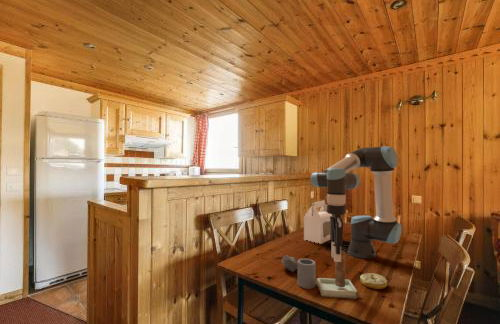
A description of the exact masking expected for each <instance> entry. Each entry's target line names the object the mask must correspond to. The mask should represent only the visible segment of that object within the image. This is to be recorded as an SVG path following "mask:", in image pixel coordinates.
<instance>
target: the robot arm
mask: <svg viewBox="0 0 500 324" xmlns="http://www.w3.org/2000/svg"><path fill="white" fill-rule="evenodd" d="M394 148H395V147H392V146H389V145H388V146H384V145H382V146H371V147H370V146H369V147H361V148H357V149H355V150H353V151H351V152H349V153H347V154H346V155H345V156H344V158H342V159H340V160H339V161H338V162H336V163H334V164H332V165H331V166H329V167H328V168H326V169H324V170H322V171H315V172H312V173H311V175H310V184H311V186H312V187H314V188H318V189H319V188H324V189H326V196H325V199H326V202H327V203H326V204H327V213H329V214H332V216H330V238H331V239H330V241H331V258H332V259H333V262H334V263H335V262H341V250H342V247H343V245H344V244H343V243H344V242H343V241H344V235H343V234H344V230H343V229H344V221H343V218H342V215H346V208H347V207H346V204H347V203H346V201H347V200H346V199H347V198H346V197H347V196H346V195H347V194H346V190H353V189H356V188H358V187H359V186H360V182H361V179H360V177H359V175H358V174H357V173H355V172H352V170H356V169H358V168H359V169H360V168H370V169H369V170H370V173H372V174H373V185H374V186H373V187H374V203H375V216H374V217H372V216H371V215H355V216H352V217H351V221H350V243H349V246H348V248H347V253H348V255H350V256H353V257H355V258H359V259H368V260H369V259H373V258H376V251H375V246H374V244H373V240H374V241H379V242H383V243H386V244H391V245H392V244H393V245H395V244H397V243H398V242H399V241H400V239H401V235H402V224H401V223H399V222H398V218H397V217H396V216H394V205H393V204H394V201H393V186H392V182H393V181H392V174H393V172H394V171H395V168H397V166H398V162H399V158H398V155H397V152H396V149H394Z"/></svg>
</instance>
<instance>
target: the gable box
mask: <svg viewBox="0 0 500 324" xmlns="http://www.w3.org/2000/svg"><path fill="white" fill-rule="evenodd" d="M311 204H312V206H310V208H309V209H308V210H307V212H305V215H304V216H303V240H304V241H306V240H308V241H307V242H310V241H311V242H310V243H314V242H315V244H318V243H319V245H322V244H324V243H326V242H328V241H331V238H330V216H332V214H329V213H327V204H328V203H326V201H325V200H324V199H322V200H317V201H313V203H311ZM318 208H319V210H318Z"/></svg>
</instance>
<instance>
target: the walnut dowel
mask: <svg viewBox="0 0 500 324" xmlns="http://www.w3.org/2000/svg"><path fill="white" fill-rule="evenodd" d="M334 263H335V264H334V265H335V266H334V269H335V271H334V279H335V285H336V286H338V287H345V280H346V251H345V250H343V249H341V262H334Z"/></svg>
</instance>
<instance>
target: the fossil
mask: <svg viewBox="0 0 500 324" xmlns="http://www.w3.org/2000/svg"><path fill="white" fill-rule="evenodd" d="M297 262H298V261H297V258H296V257H294V256H290V255H288V254H285V255H284V256H282V258H281V263H282V265H283V267H284V268H285V269H287V270H288V271H289V272H295V271H296V270H297Z"/></svg>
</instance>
